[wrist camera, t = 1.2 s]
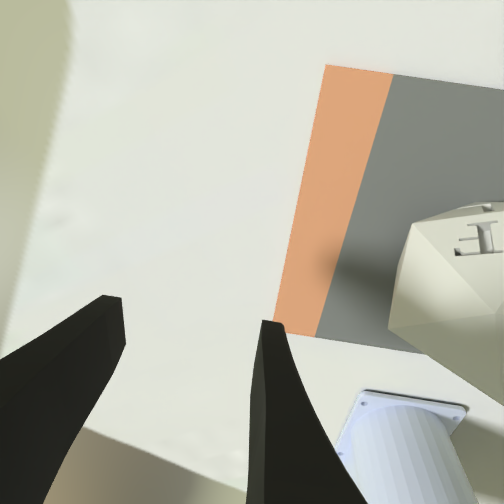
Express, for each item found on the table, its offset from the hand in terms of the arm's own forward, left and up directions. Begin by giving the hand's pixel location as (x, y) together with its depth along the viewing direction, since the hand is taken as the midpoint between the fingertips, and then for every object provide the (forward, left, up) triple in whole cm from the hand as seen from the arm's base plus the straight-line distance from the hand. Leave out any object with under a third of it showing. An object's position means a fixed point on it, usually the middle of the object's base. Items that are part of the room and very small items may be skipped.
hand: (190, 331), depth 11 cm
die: (0, -12, -9) cm, 16 cm away
